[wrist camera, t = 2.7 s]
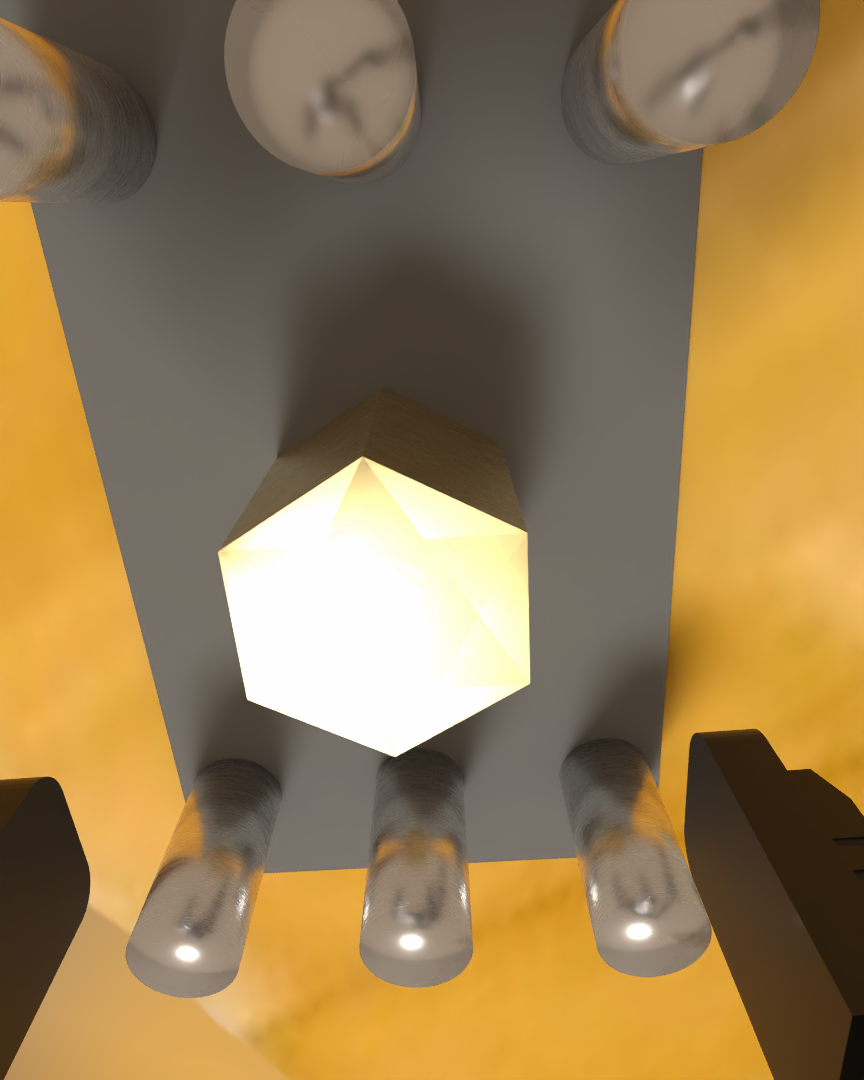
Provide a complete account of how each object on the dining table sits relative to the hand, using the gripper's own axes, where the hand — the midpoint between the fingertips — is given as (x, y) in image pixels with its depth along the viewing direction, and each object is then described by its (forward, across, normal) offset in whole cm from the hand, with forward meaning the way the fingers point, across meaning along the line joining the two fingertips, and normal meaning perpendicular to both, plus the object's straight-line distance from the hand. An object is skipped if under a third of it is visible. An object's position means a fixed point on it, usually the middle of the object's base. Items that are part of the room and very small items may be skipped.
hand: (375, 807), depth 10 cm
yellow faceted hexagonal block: (+9, 0, -1) cm, 9 cm away
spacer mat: (+9, 0, -1) cm, 9 cm away
